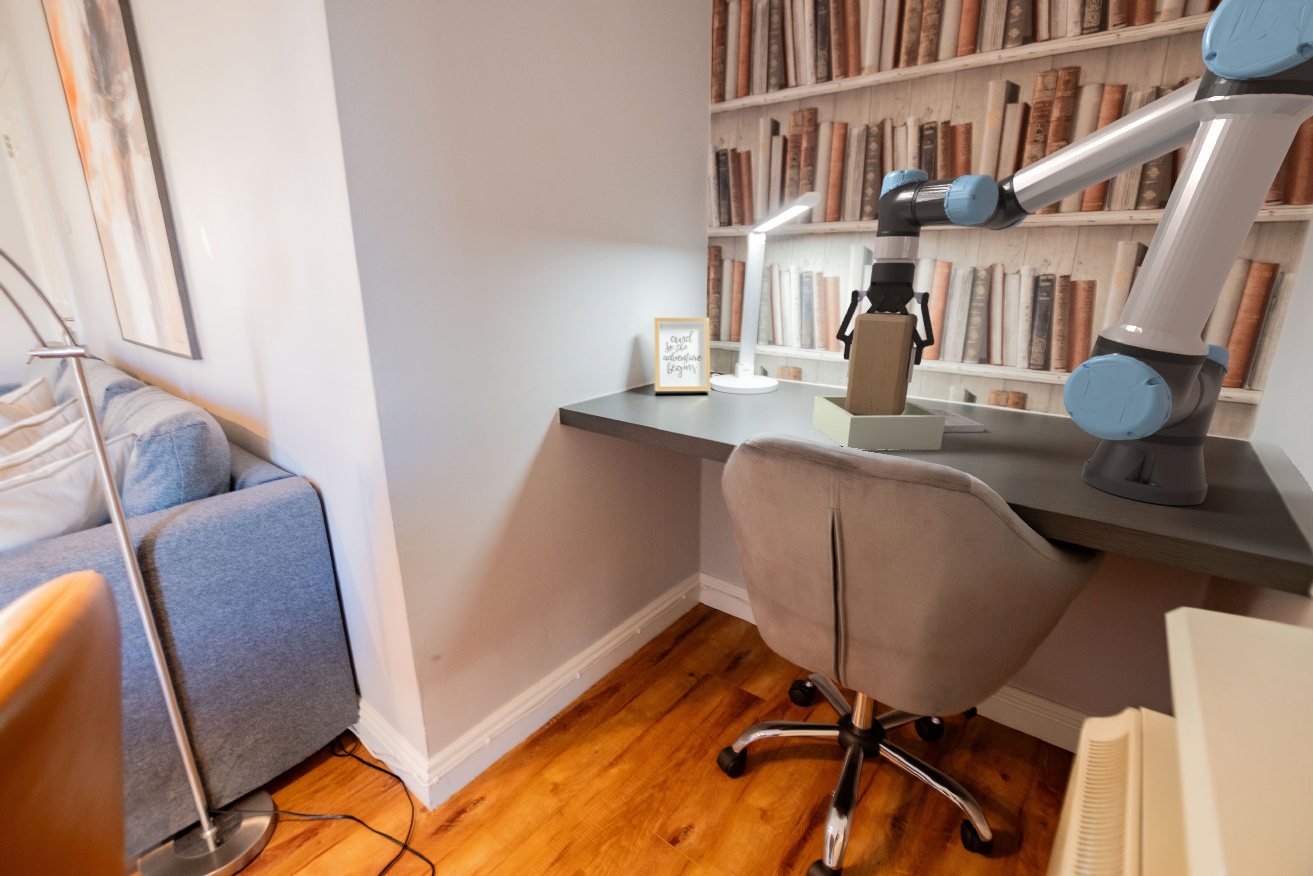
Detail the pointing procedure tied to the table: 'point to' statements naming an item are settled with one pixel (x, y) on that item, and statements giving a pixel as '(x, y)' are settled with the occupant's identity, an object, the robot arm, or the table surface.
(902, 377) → the block
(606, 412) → the table surface
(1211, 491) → the table surface
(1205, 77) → the robot arm
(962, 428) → the socket frame
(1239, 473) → the table surface
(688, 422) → the table surface
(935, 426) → the bin
